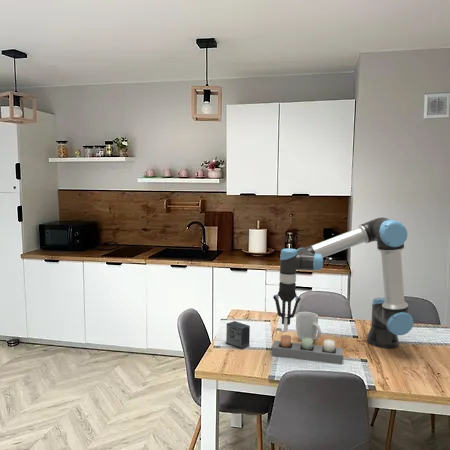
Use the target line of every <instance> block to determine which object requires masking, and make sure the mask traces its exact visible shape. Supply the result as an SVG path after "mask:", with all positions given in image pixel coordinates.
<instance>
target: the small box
mask: <svg viewBox="0 0 450 450" xmlns="http://www.w3.org/2000/svg"><path fill="white" fill-rule="evenodd" d="M250 328H251V326H250V325H248V324H245V323H242V322H239V321H236V320H234V321H231V322H227V323H226V334H225V336H226V340H225V344H227V345H229V346H232V347H234V348H238V349H240V350H242V349H243V350H244V349H245V348H247V347H249V346H250V338H251V337H250V330H251V329H250Z"/></svg>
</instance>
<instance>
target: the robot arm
mask: <svg viewBox="0 0 450 450" xmlns="http://www.w3.org/2000/svg"><path fill="white" fill-rule="evenodd" d="M407 238H408V230H407V228H406V226H405V225H404V224H403V223H402V222H400V221H399V220H396V219H390V218H387V217H377V218H374V219H371V220H369V221H367V222H364V223H361V224H359V225H358V226H357V228H355V229H352V230H349V231H347V232H344V233H340V234H338V235H336V236H334V237H331V238H328V239H326V240H323V241H320V242H317V243H315V244H311V245H310V246H307V247H299V248H297V249H295V248H283V249H281V251H280V257H279V261H280V262H279V284H278V285H279V286H278V287H279V288H278V292H277V294H274V295H273V297H272V298H273V300H274V301H275V302H274V303H275V306H276V307H275V308H276V311H277V316H278V317H281V325H283V332H284V333H287V332H288V330H289V328H288V327H289V326H290V325H291V318H295V316H296V311H297V308H298V304H299V303H300V301H301V300H302V297H300V296H298V295H297V292H296V285H297V284H296V282H297V270H299V271H300V270H301V271H302V270H303V271H321V270H322V269H323V267H324V258H325V257H328V256H331V255H334V254H336V253H339V252H342V251H344V250H347V249H350V248H352V247H354V246H358V245H361V244H363V243H366V244H369V243H372V242H376V247H377V248H376V249H377V250H378V251H380V253H381V255H380V256H381V265H382V278H383V280H382V281H383V291H384V293H383V294H384V297H375V298H373V299H372V304H371V326H370V327H369V331H368V333H367V336H366V341H367V343H368V344H370V345H372V346H374V347H377V348H382V349H395V348H397V347H398V346H399V342H400V341H399V337H398V336H404V335H406V334H408V333H410V331H411V330H413V327H414V319H413V317H412V315H411V314H410V313H409V311H410V310H409V303H407V302H406V301H405V289H404V275H403V264H402V251H403V250H404V249H405V242H406V241H407V240H408V239H407ZM279 298H280V300H281V302H282V303H281V305H280V301H279ZM293 300H294V301H295V303H294V306H293V309H292V302H293ZM286 303H287V316H286ZM281 306H282V307H281ZM291 310H292V313H291Z"/></svg>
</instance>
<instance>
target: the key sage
mask: <svg viewBox="0 0 450 450" xmlns="http://www.w3.org/2000/svg"><path fill="white" fill-rule="evenodd" d="M301 343H302V348H303V349H312V348H313V345H314V339H312V338H310V337H303V338H302V341H301Z"/></svg>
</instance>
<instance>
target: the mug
mask: <svg viewBox="0 0 450 450" xmlns="http://www.w3.org/2000/svg"><path fill="white" fill-rule="evenodd" d="M295 330H296V334H297V337H298V339H299V340H300V341H301V342H302V338H303V337H310V338H312V339H313V340H319V339H320V337H321V335H322V331H321V327H320V325H319V316H318V314H317V313H314V312H311V311H300V312H297V313H295ZM316 335H317V336H316Z"/></svg>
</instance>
